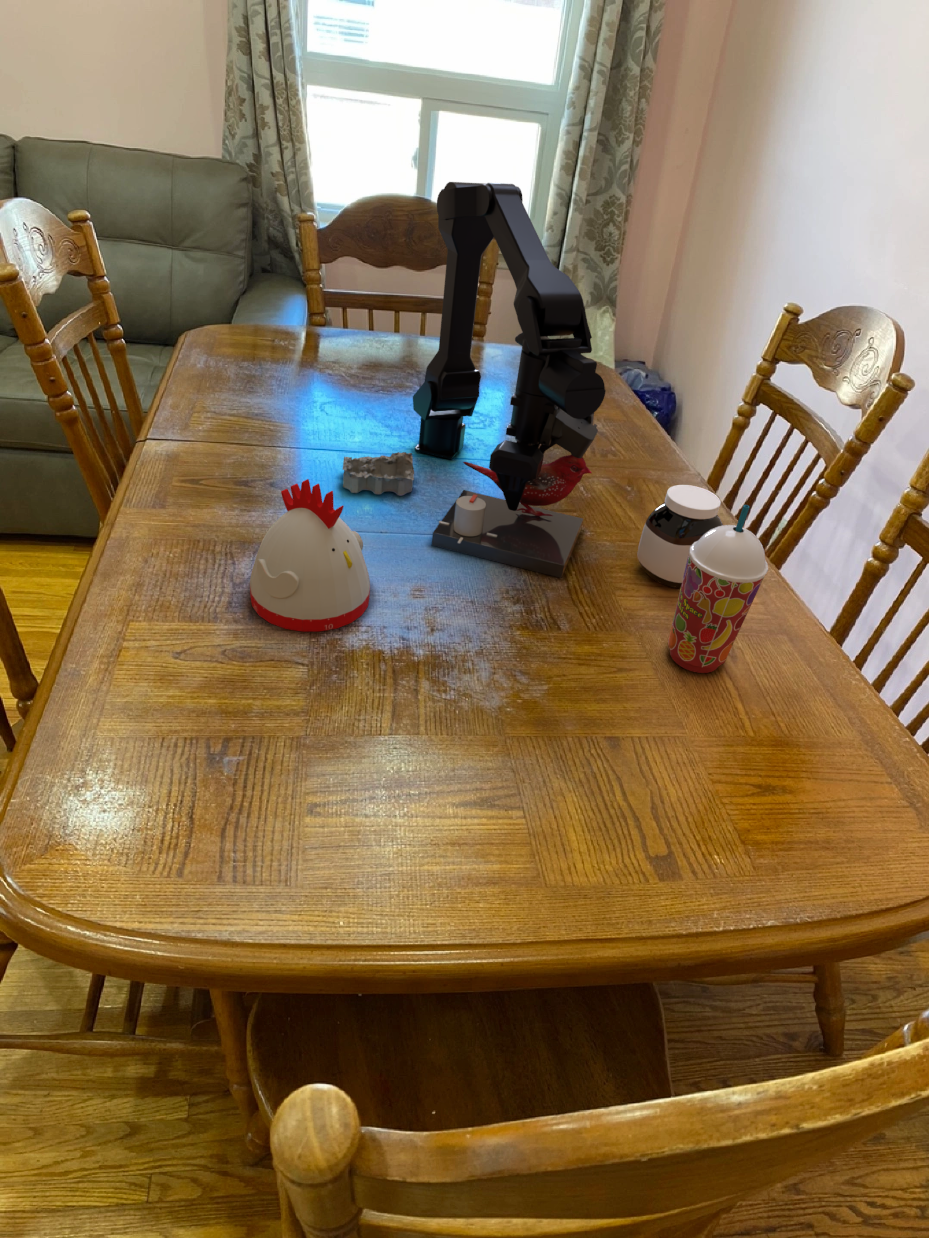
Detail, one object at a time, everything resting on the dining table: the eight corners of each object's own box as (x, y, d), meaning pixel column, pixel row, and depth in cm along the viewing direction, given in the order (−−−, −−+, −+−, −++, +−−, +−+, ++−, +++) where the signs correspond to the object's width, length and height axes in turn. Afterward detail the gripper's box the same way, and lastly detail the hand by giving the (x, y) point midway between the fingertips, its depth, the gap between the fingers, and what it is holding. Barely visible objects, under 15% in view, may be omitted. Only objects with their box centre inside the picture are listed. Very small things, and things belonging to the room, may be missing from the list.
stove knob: (477, 539, 109) (481, 510, 106) (449, 532, 110) (452, 503, 107) (485, 526, 112) (489, 498, 110) (458, 519, 113) (461, 491, 110)
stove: (427, 548, 109) (429, 534, 108) (461, 501, 121) (463, 488, 120) (559, 582, 106) (562, 568, 105) (580, 530, 118) (583, 517, 117)
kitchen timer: (317, 647, 90) (317, 527, 81) (225, 600, 95) (216, 483, 86) (392, 593, 100) (399, 482, 91) (305, 553, 105) (304, 444, 97)
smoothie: (650, 635, 99) (695, 485, 87) (716, 637, 100) (769, 490, 88) (670, 680, 92) (721, 524, 80) (740, 682, 93) (801, 528, 81)
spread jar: (659, 595, 106) (683, 516, 99) (608, 552, 114) (627, 475, 107) (728, 580, 111) (755, 503, 105) (675, 539, 119) (697, 465, 112)
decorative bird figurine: (580, 528, 114) (594, 462, 109) (456, 506, 116) (463, 439, 110) (581, 519, 117) (595, 453, 111) (459, 497, 118) (467, 431, 112)
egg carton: (413, 476, 127) (415, 452, 124) (412, 499, 120) (414, 474, 118) (344, 470, 126) (344, 445, 123) (339, 492, 120) (340, 467, 117)
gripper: (586, 426, 97) (563, 541, 106) (610, 379, 112) (588, 483, 121) (496, 407, 99) (480, 520, 108) (531, 363, 114) (515, 466, 123)
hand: (520, 496), depth 115 cm, fingers open, 8 cm apart
